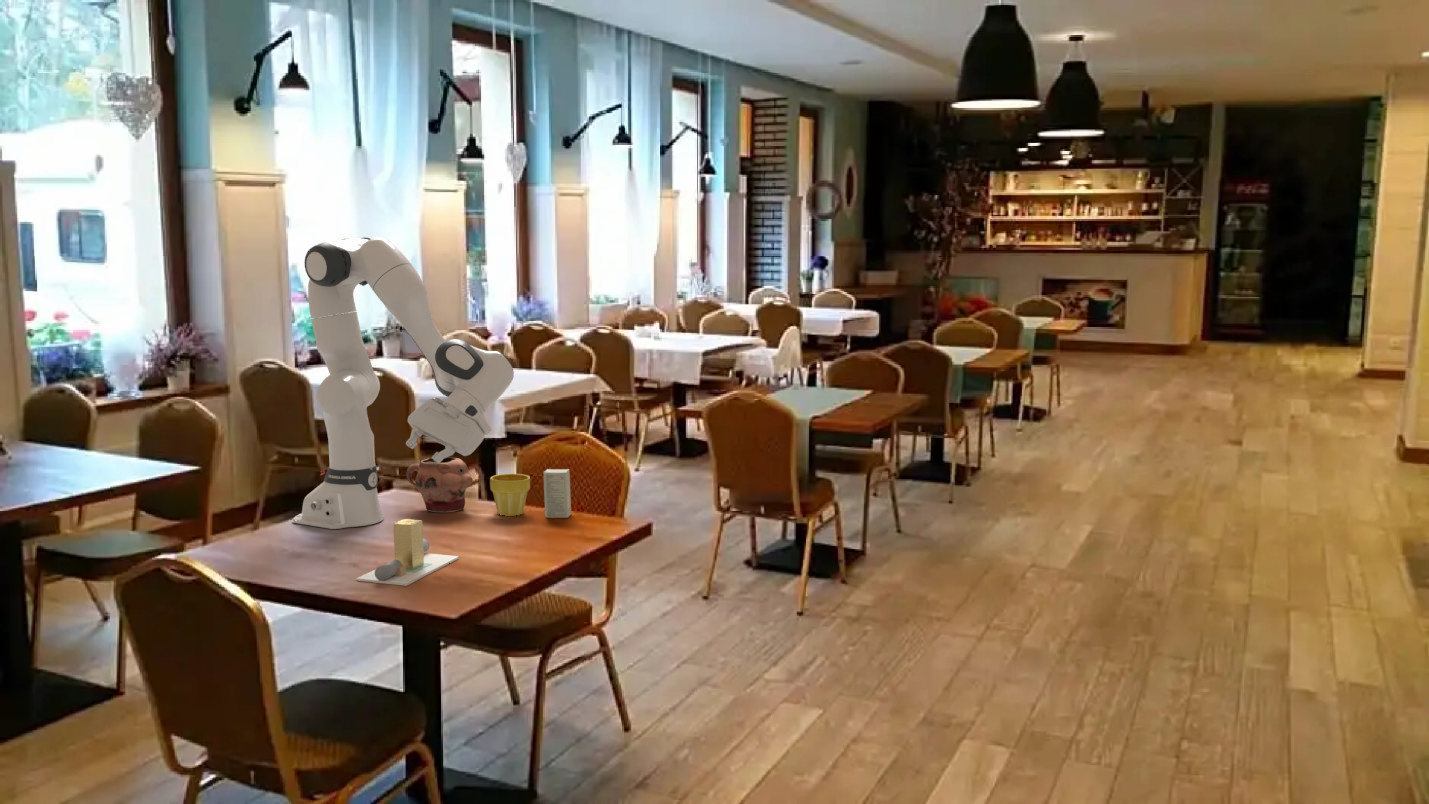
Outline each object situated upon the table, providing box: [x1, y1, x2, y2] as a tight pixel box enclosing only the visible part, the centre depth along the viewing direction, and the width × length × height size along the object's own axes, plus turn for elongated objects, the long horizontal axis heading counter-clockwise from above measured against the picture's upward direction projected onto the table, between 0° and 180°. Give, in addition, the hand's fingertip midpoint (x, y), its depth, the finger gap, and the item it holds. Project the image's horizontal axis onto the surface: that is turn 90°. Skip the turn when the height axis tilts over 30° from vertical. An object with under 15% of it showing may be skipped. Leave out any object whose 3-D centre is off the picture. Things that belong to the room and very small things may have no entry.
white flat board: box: [356, 538, 460, 586], centre depth 258 cm, size 23×12×4 cm, turn 163°
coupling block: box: [393, 518, 424, 570], centre depth 257 cm, size 4×4×10 cm
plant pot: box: [489, 473, 531, 517], centre depth 309 cm, size 10×10×10 cm
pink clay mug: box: [405, 456, 474, 513], centre depth 313 cm, size 20×12×14 cm, turn 75°
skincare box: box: [542, 468, 572, 519], centre depth 306 cm, size 6×4×12 cm
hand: (421, 453), depth 269 cm, fingers open, 8 cm apart
